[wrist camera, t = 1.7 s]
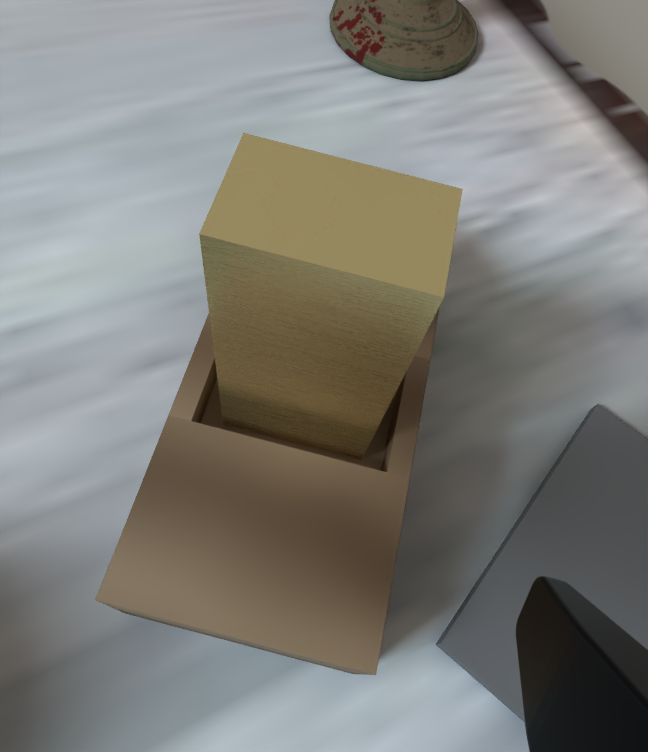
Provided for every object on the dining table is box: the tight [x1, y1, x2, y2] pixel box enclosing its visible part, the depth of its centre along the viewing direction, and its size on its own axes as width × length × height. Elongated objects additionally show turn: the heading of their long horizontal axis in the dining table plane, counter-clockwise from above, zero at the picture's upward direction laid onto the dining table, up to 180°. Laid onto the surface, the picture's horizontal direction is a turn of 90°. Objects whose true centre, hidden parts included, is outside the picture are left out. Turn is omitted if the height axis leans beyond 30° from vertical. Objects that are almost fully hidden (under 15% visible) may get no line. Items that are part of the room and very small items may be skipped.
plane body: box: [96, 308, 439, 675], centre depth 20 cm, size 16×8×6 cm, turn 167°
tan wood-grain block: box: [199, 133, 462, 460], centre depth 17 cm, size 3×5×10 cm, turn 77°
